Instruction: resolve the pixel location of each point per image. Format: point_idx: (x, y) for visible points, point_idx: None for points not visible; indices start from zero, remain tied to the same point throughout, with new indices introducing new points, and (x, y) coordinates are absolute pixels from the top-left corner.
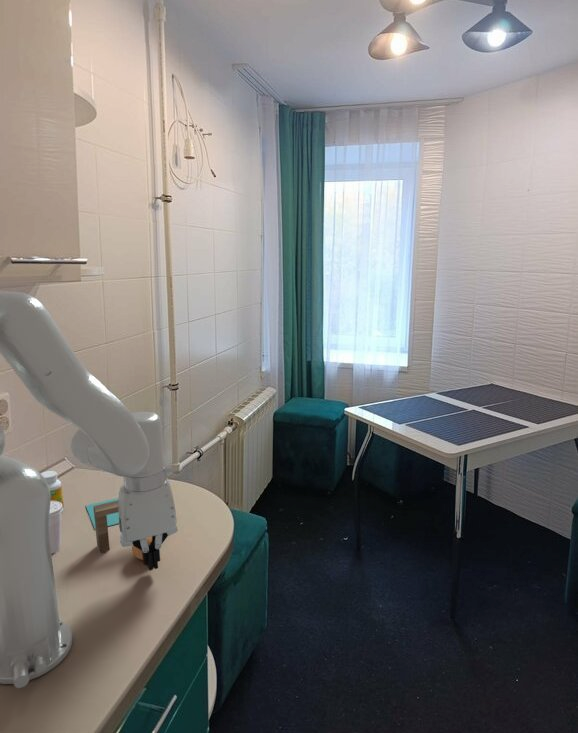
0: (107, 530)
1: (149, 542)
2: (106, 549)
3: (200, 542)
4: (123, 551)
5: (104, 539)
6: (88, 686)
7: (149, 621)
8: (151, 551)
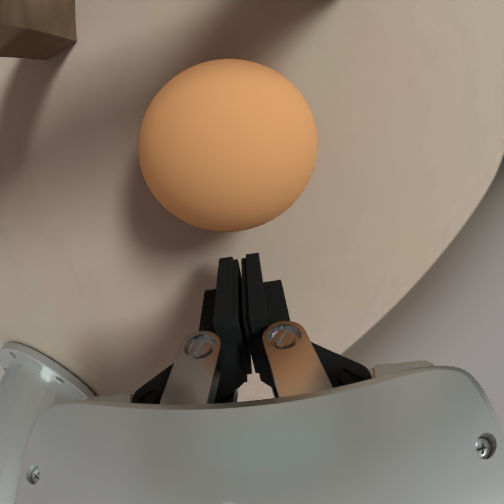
0: (14, 27)
1: (249, 227)
2: (62, 47)
3: (451, 128)
4: (126, 56)
5: (29, 43)
6: None
7: None
8: (249, 373)
